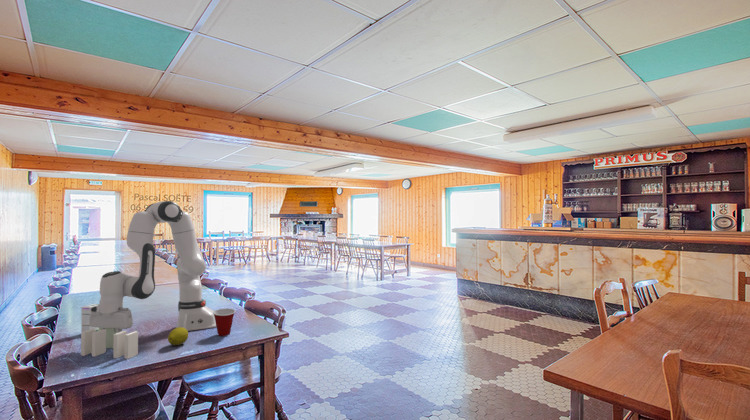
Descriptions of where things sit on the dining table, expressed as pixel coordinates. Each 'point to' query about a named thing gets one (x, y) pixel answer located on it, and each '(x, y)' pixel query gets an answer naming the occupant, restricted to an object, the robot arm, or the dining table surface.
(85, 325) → the syrup box
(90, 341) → the domino
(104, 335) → the domino
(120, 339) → the domino
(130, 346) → the domino
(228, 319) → the plastic cup
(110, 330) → the domino
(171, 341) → the lemon
